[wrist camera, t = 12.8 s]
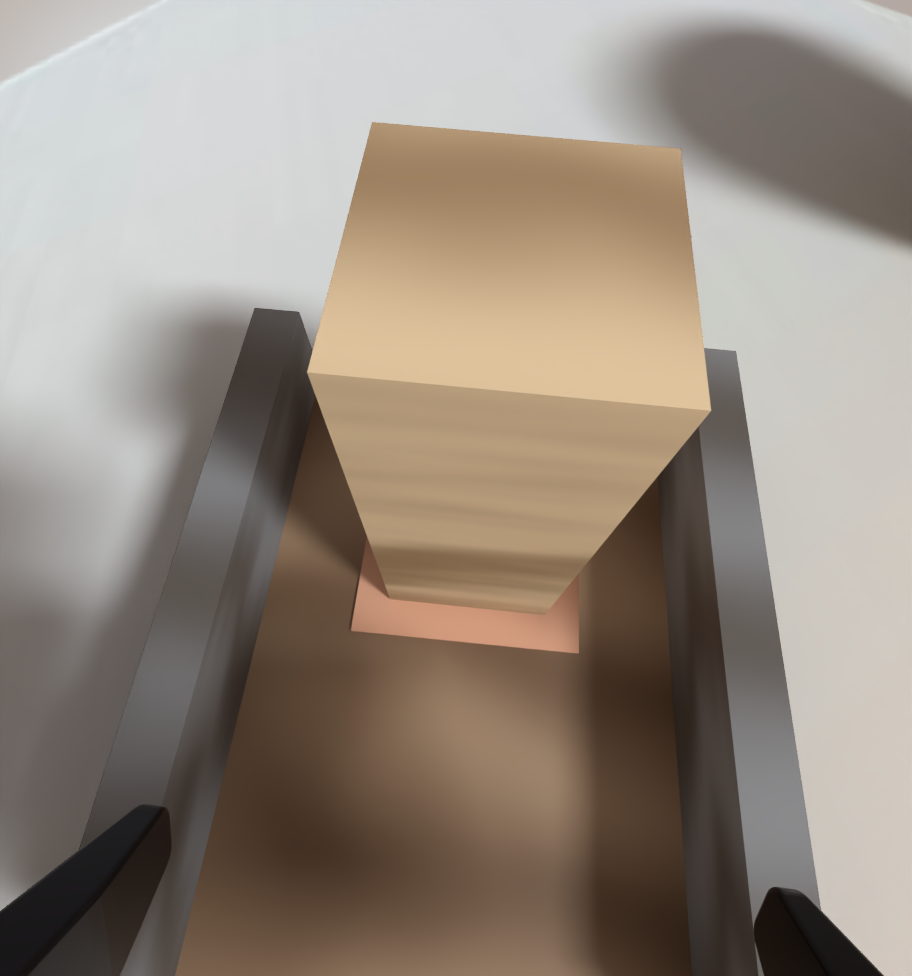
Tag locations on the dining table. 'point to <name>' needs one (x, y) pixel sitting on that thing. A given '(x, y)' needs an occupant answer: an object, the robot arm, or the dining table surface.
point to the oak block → (507, 355)
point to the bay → (457, 728)
